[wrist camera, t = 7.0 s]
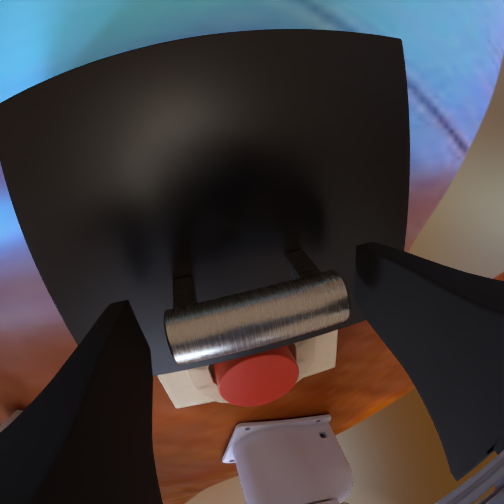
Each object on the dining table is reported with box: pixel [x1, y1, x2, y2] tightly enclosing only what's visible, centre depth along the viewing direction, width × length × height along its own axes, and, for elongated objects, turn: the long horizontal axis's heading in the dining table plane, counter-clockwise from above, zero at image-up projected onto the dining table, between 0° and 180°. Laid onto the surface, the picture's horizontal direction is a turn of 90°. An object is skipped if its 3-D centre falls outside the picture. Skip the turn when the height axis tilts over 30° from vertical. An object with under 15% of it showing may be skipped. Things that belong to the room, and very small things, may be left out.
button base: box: [157, 330, 338, 408], centre depth 18 cm, size 9×12×3 cm
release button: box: [214, 345, 299, 407], centre depth 16 cm, size 4×4×2 cm
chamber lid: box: [0, 29, 410, 376], centre depth 9 cm, size 12×14×4 cm
